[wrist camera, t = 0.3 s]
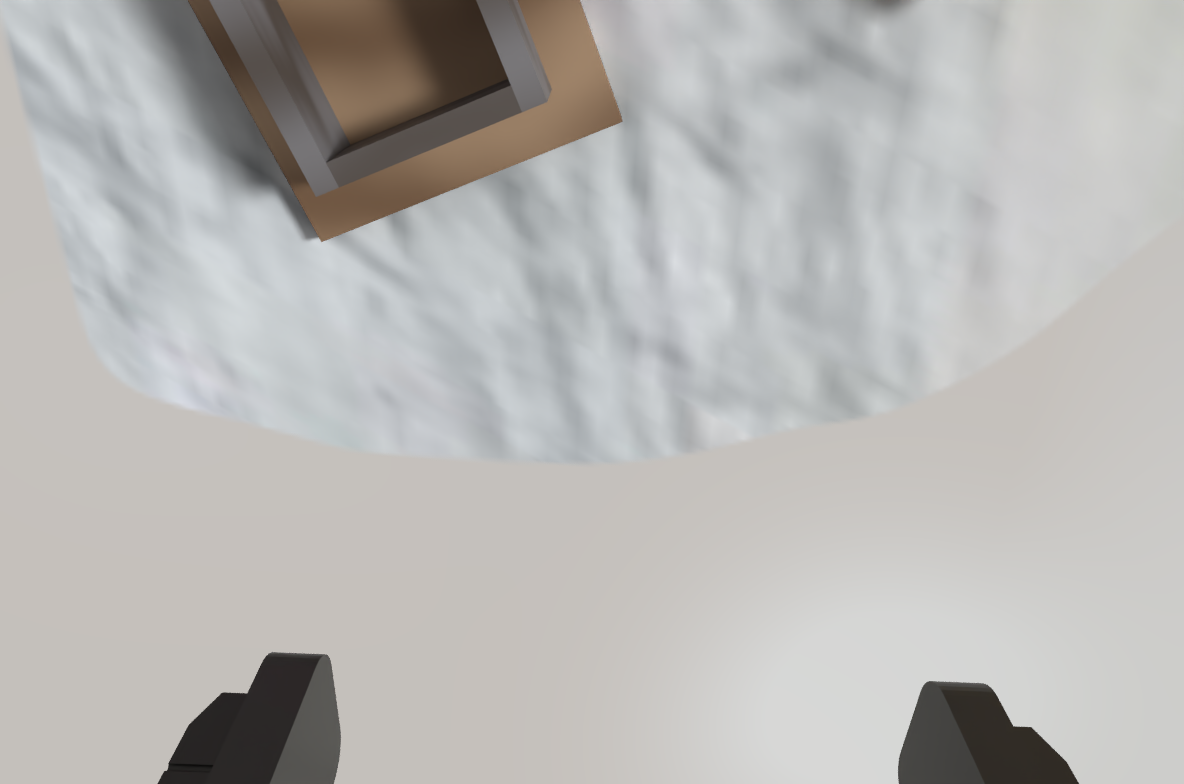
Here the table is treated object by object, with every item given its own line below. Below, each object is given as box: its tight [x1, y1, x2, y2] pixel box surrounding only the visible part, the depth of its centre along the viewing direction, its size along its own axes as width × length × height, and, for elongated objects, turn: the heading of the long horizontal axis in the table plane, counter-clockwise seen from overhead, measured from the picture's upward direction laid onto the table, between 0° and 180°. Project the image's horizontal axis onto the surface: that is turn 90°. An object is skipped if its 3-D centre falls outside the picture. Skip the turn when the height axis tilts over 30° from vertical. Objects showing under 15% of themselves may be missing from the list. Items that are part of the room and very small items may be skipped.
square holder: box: [188, 0, 622, 242], centre depth 31 cm, size 14×14×4 cm
